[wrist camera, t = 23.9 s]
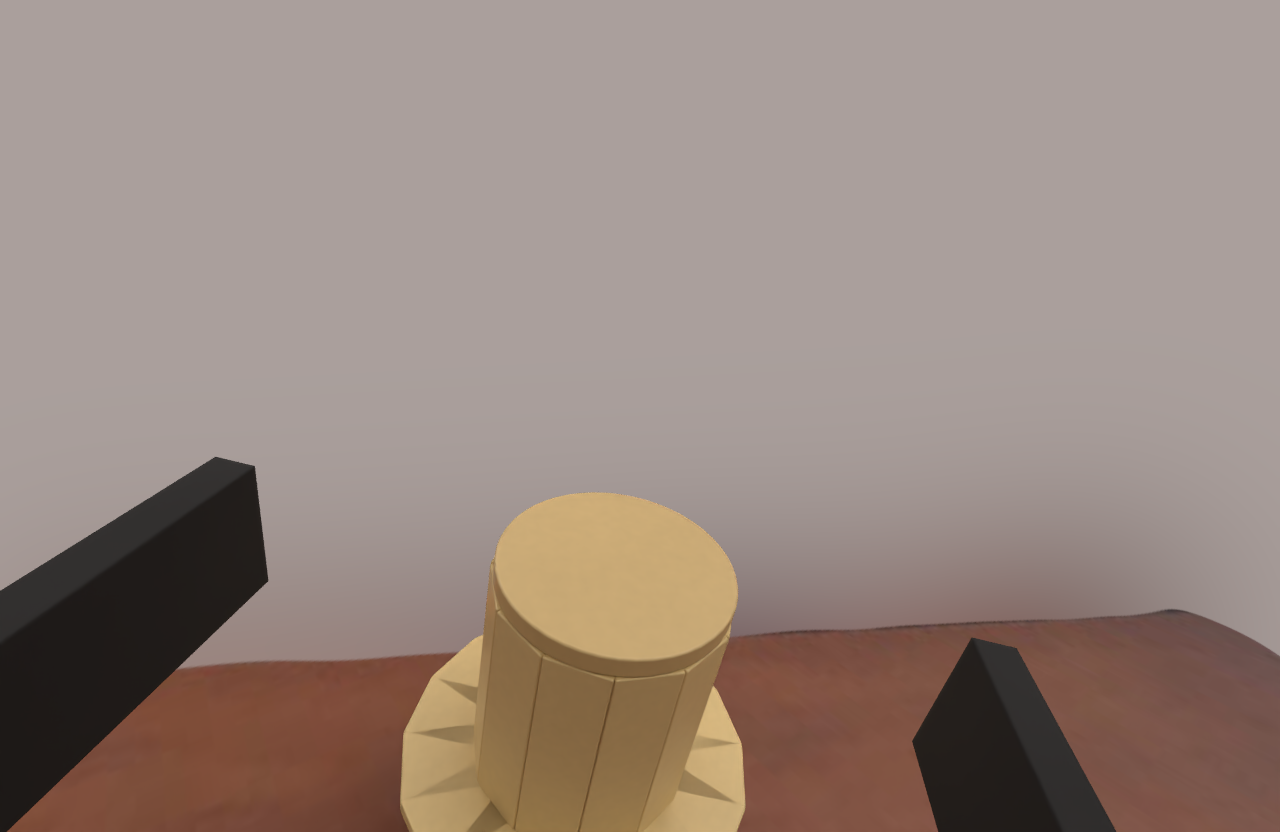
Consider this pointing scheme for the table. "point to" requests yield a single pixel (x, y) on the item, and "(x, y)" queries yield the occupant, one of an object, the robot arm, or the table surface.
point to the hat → (585, 683)
